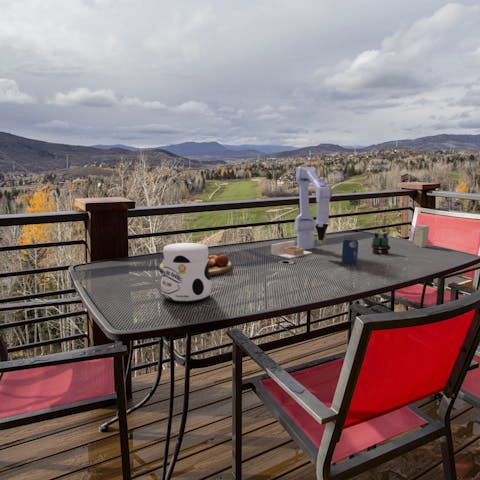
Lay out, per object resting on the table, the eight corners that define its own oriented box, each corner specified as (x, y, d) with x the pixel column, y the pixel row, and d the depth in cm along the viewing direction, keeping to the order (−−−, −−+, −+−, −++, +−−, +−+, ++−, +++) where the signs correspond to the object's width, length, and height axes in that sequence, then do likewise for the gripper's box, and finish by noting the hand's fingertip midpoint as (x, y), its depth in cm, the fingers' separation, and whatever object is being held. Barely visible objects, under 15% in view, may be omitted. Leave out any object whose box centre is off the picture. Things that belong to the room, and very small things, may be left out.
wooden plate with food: (245, 266, 185) (245, 248, 183) (200, 282, 159) (200, 261, 157) (192, 258, 202) (192, 241, 201) (143, 271, 177) (143, 252, 175)
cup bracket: (293, 249, 220) (293, 240, 219) (312, 253, 211) (312, 243, 210) (271, 254, 208) (271, 244, 207) (290, 258, 199) (290, 248, 198)
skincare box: (413, 245, 234) (415, 224, 232) (418, 245, 236) (420, 224, 234) (422, 247, 229) (424, 226, 226) (427, 247, 230) (429, 225, 228)
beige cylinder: (320, 241, 203) (321, 228, 202) (327, 243, 200) (327, 229, 199) (315, 243, 200) (316, 229, 199) (322, 244, 198) (322, 230, 196)
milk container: (153, 304, 134) (152, 251, 131) (170, 288, 151) (169, 241, 147) (204, 308, 131) (204, 254, 128) (216, 291, 148) (216, 243, 145)
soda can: (357, 266, 186) (359, 240, 184) (341, 265, 188) (343, 239, 185) (356, 262, 193) (358, 237, 191) (341, 261, 194) (342, 237, 192)
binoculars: (375, 237, 206) (371, 231, 215) (373, 256, 209) (369, 250, 218) (393, 237, 205) (388, 232, 215) (391, 257, 208) (386, 251, 218)
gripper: (316, 209, 205) (315, 236, 208) (312, 213, 192) (311, 241, 194) (330, 210, 203) (329, 237, 206) (327, 213, 190) (326, 242, 192)
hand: (321, 239), depth 200 cm, fingers closed on beige cylinder, 4 cm apart
